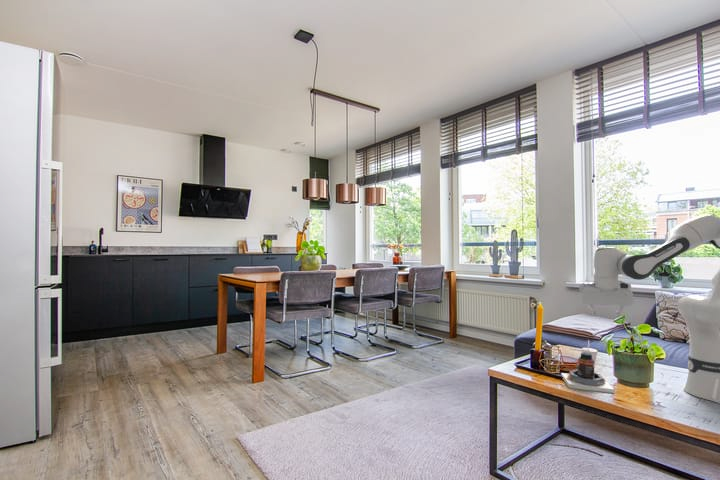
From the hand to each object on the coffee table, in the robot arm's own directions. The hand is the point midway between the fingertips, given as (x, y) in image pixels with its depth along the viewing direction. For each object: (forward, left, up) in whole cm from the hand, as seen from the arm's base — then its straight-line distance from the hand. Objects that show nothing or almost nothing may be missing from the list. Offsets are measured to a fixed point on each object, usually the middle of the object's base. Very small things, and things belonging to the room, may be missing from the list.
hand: (605, 315), depth 164 cm
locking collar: (+10, +9, -27) cm, 30 cm away
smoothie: (+3, -12, -28) cm, 31 cm away
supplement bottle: (+10, +9, -27) cm, 30 cm away
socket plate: (+10, +9, -28) cm, 31 cm away
